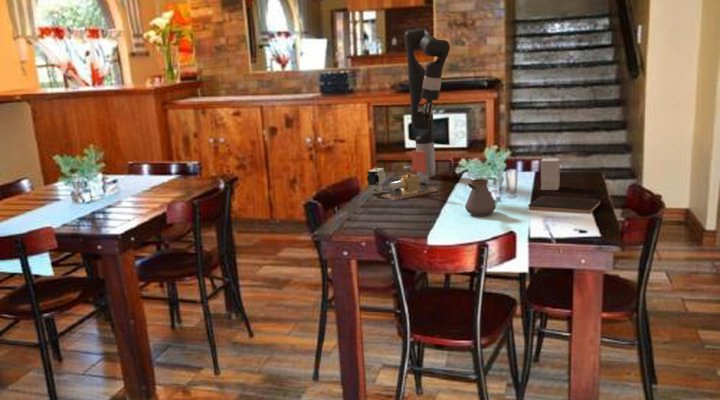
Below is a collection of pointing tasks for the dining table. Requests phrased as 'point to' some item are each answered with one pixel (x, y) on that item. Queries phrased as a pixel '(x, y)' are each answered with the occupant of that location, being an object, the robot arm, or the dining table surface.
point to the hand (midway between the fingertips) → (425, 127)
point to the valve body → (409, 187)
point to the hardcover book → (564, 204)
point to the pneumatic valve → (376, 178)
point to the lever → (417, 162)
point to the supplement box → (550, 174)
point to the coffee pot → (479, 199)
